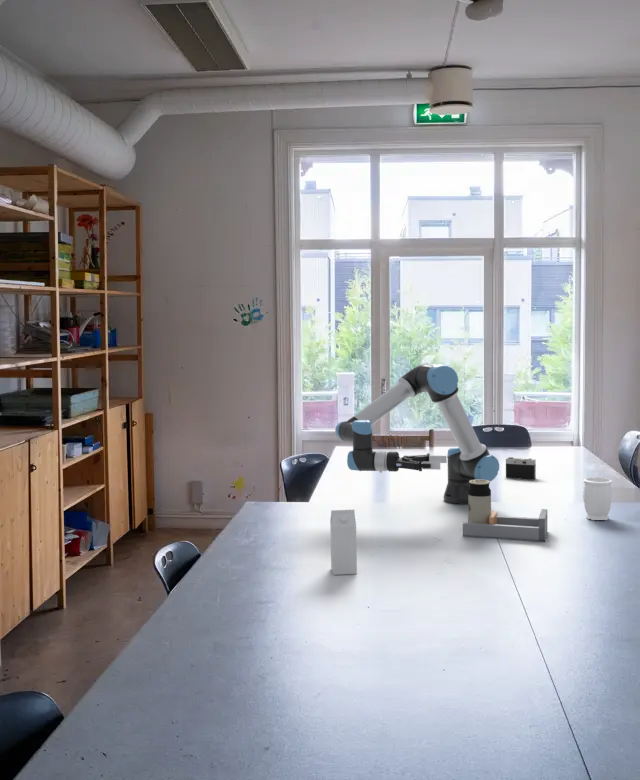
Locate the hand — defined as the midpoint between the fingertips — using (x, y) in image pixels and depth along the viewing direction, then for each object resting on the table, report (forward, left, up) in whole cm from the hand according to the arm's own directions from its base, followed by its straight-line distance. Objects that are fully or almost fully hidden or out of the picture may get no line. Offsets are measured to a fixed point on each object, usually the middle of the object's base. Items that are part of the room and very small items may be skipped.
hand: (443, 462), depth 291 cm
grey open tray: (+6, +23, -24) cm, 34 cm away
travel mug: (+6, +14, -23) cm, 28 cm away
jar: (-26, +54, -24) cm, 65 cm away
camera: (-106, +19, -24) cm, 111 cm away
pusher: (+6, +19, -23) cm, 30 cm away
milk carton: (+64, -19, -24) cm, 71 cm away
